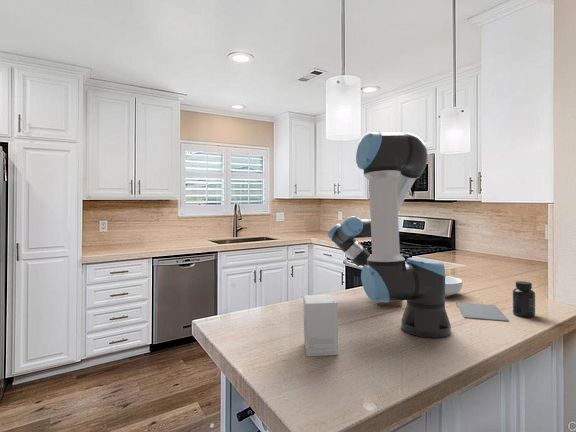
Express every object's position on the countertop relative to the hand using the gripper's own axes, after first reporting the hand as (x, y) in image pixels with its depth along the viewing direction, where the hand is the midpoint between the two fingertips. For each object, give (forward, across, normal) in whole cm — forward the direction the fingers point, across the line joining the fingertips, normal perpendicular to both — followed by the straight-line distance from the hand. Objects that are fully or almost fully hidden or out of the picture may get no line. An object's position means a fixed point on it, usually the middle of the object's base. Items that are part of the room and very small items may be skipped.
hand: (394, 291), depth 142 cm
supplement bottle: (+35, -4, -28) cm, 45 cm away
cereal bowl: (+18, +18, -10) cm, 27 cm away
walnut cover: (+2, 0, +5) cm, 5 cm away
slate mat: (+25, -4, -18) cm, 32 cm away
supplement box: (-11, -52, +18) cm, 56 cm away
